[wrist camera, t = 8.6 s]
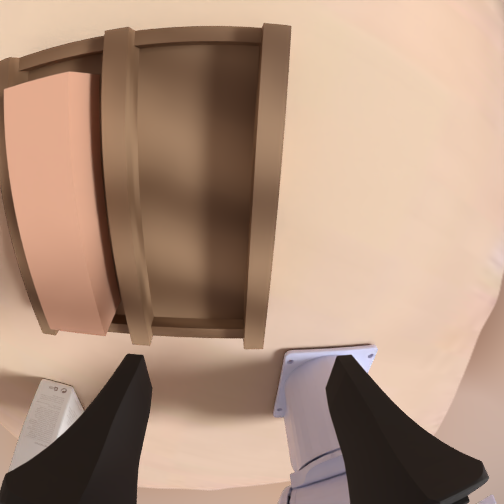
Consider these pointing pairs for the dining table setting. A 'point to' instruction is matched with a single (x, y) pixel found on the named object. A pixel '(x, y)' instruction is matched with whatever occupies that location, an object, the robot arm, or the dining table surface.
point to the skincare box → (46, 420)
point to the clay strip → (62, 198)
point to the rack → (180, 172)
